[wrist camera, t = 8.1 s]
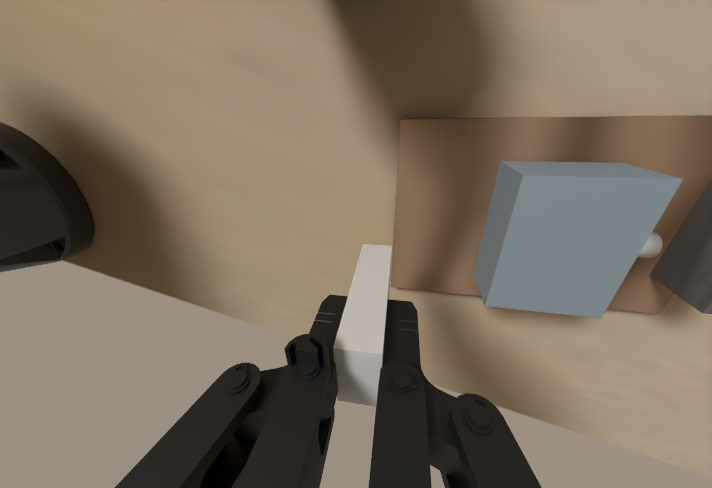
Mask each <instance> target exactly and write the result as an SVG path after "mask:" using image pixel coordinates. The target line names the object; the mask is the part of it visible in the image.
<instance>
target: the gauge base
mask: <svg viewBox="0 0 712 488" xmlns="http://www.w3.org/2000/svg"><path fill="white" fill-rule="evenodd" d="M500 161H541V162H605V163H626V164H630V165H633V166H637V167H641V168H644V169H648V170H652V171H655V172H659V173H663V174H666V175H670V176H674V177H677V178H681V179H683V180H682V182H681V184H680V185H679V187H678V189H677V191H676V192H675V194H674V196H673V197H672V199H671V201H670V202H669V204H668V206H667V207H666V209H665V211H664V213H663V214H662V216H661V218H660V219H659V221H658V223H657V224H656V226H655V228H654V230H653V231H652V232H654V233H657V234H658V235H659V236H660V237H661V239H662V249H661V251H660V252H659V254H658V255H656V256H655V257H652V258H643V257H637V258H636V260H635V262H634V263H633V265H632V267H631V268H630V270H629V272H628V274H627V275H626V277H625V279H624V280H623V282H622V284H621V285H620V287H619V289H618V291H617V292H616V294H615V296H614V297H613V299H612V301H611V302H610V304H609V306H608V307H607V309H613V310H623V311H633V312H643V313H653V314H659V313H660V312H661V310H662V309H663V307H664V306H665V305H666V303H667V302H668V301H669V299H670V298H671V296H672V295H673V294H674V293H675V294H676V295H678V296H679V297H681V298H682V299H683V300H685V301H686V302H688V303H689V304H690V305H692V306H693V307H695V308H696V309H697V310H699V311H700V312H702V313H707V314H712V116H624V117H536V118H448V119H401V120H400V136H399V153H398V170H397V188H396V205H395V222H394V239H393V257H392V274H391V287H396V288H406V289H416V290H426V291H436V292H446V293H455V294H465V295H475V296H481V293H480V291H479V288H478V285H477V283H476V280H475V277H474V274H473V271H474V267H475V263H476V259H477V255H478V251H479V247H480V243H481V238H482V234H483V230H484V226H485V222H486V218H487V214H488V209H489V205H490V201H491V197H492V193H493V189H494V185H495V180H496V176H497V172H498V168H499V164H500Z"/></svg>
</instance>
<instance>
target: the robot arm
mask: <svg viewBox="0 0 712 488" xmlns="http://www.w3.org/2000/svg"><path fill="white" fill-rule="evenodd" d="M92 237H93V225H92V220H91V216H90V213H89V210H88V208H87V205H86V203H85V201H84V199H83V197H82V196H81V194H80V192H79V190H78V189H77V187H76V186H75V184H74V183H73V181H72V180H71V179H70V177H69V176H68V175H67V174H66V172H65V171H64V170H63V169H62V168H61V167H60V165H59V164H58V163H57V162H56V161H55V160H54V159H53V158H52V157H51V156H50V155H49V154H48V153H47V152H46V151H44V150H43V149H42V148H41V147H40V146H39V145H37V144H36V143H35V142H33V141H32V140H31V139H29V138H28V137H27V136H25V135H24V134H22V133H21V132H19V131H17V130H15V129H14V128H12V127H10V126H8V125H6V124H3V123H1V122H0V272H4V271H10V270H15V269H21V268H26V267H31V266H37V265H42V264H48V263H53V262H57V261H61V260H64V259H66V258H68V257H71V256H73V255H75V254H77V253H80V252H82V251H84V250H85V249H86V248H87V247H88V246H89V245H90V243H91V240H92ZM391 251H392V246H385V245H368V244H363V246H362V249H361V253H360V256H359V260H358V263H357V267H356V270H355V274H354V277H353V281H352V284H351V288H350V291H349V294H348V296H337V295H329V296H328V297H327V298H326V299H325V300H324V301H323V302H322V303H321V306H320V308H319V311H318V313H317V315H316V318H315V321H314V323H313V325H312V328H311V330H310V333H309V334H303V335H301V336H298V337H296V338H294V339H293V340H291V341H290V342H289V343H288V345H287V346H286V348H285V353H286V358H287V362H288V365H286V366H284V367H280V368H276V369H270V370H264V371H259V368H258V367H257V366H256V365H254V364H251V363H241V364H237V365H235V366H233V367H231V368H229V369H228V370H226V371H225V372H224V373H223V374H222V375H221V376H220V377H219V378H218V379H217V380H216V381H215V382H214V383H213V384H212V385H211V386H210V387H209V388H208V389H207V390H206V392H205V393H204V394H203V395H202V396H201V397H200V398H199V399H198V400H197V401H196V402H195V403H194V404H193V405H192V406H191V407H190V409H189V410H188V411H187V412H186V413H185V414H184V415H183V416H182V417H181V418H180V419H179V420H178V421H177V422H176V423H175V424H174V426H173V427H172V428H171V429H170V430H169V431H168V432H167V433H166V434H165V435H164V436H163V437H162V438H161V439H160V440H159V441H158V442H157V444H156V445H155V446H154V447H153V448H152V449H151V450H150V451H149V452H148V453H147V454H146V455H145V456H144V458H143V459H141V460H140V462H139V463H138V464H137V465H136V466H135V467H134V468H133V469H132V470H131V471H130V472H129V473H128V474H127V475H126V477H124V479H123V480H122V481H121V482H120V483H119V484H118V485H117V486H116V487H115V488H319V486H320V482H321V477H322V473H323V468H324V464H325V459H326V454H327V450H328V445H329V440H330V436H331V432H332V427H333V422H334V413H335V411H334V405H335V401H336V397H337V396H338V400H339V401H346V402H352V403H358V404H365V405H371V406H376V416H375V426H374V438H373V448H372V459H371V470H370V480H369V488H431V474H430V465H432V466H433V467H435V468H437V469H438V470H440V472H441V475H442V479H443V482H444V486H445V488H541V486H540V484H539V482H538V480H537V479H536V477H535V475H534V473H533V471H532V469H531V467H530V466H529V464H528V462H527V460H526V458H525V456H524V454H523V453H522V451H521V449H520V447H519V445H518V443H517V441H516V440H515V438H514V436H513V434H512V432H511V430H510V428H509V427H508V425H507V423H506V421H505V419H504V417H503V416H502V415H501V413H500V412H499V410H498V409H497V408H496V406H495V405H493V404H492V403H491V402H490V401H488V400H487V399H485V398H483V397H481V396H479V395H477V394H468V393H467V394H463V395H460V396H458V397H457V398H456V397H454V396H451V395H449V394H447V393H445V392H443V391H441V390H439V389H437V388H436V387H434V386H433V385H432V384H431V383H430V382H429V381H428V380H427V379H426V377H425V376H424V374H423V372H422V370H421V365H420V349H419V333H418V317H417V310H416V308H415V307H414V305H413V303H412V302H409V301H398V300H389V288H390V269H391Z"/></svg>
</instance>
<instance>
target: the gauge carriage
mask: <svg viewBox="0 0 712 488" xmlns="http://www.w3.org/2000/svg"><path fill="white" fill-rule="evenodd" d="M682 180H683V179H681V178H677V177H674V176H670V175H666V174H663V173H659V172H655V171H652V170H648V169H644V168H641V167H637V166H633V165H630V164H626V163H605V162H541V161H500V164H499V168H498V172H497V176H496V180H495V185H494V189H493V193H492V197H491V201H490V205H489V209H488V214H487V218H486V222H485V226H484V230H483V234H482V238H481V243H480V247H479V251H478V255H477V259H476V263H475V267H474V271H473V274H474V277H475V280H476V283H477V285H478V288H479V291H480V293H481V296H482V299H483V302H484V304H485V306H489V307H499V308H508V309H517V310H527V311H536V312H545V313H554V314H564V315H573V316H582V317H592V318H602V316H603V314H604V313H605V311H606V309H607V307H608V306H609V304H610V302H611V301H612V299H613V297H614V296H615V294H616V292H617V291H618V289H619V287H620V285H621V284H622V282H623V280H624V279H625V277H626V275H627V274H628V272H629V270H630V268H631V267H632V265H633V263H634V262H635V260H636V258H637V257H643V258H652V257H655V256H656V255H658V254H659V252H660V251H661V249H662V239H661V237H660V236H659V235H658V234H657V233H654V232H652V231H653V230H654V228H655V226H656V224H657V223H658V221H659V219H660V218H661V216H662V214H663V213H664V211H665V209H666V207H667V206H668V204H669V202H670V201H671V199H672V197H673V196H674V194H675V192H676V191H677V189H678V187H679V185H680V184H681V182H682Z"/></svg>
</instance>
